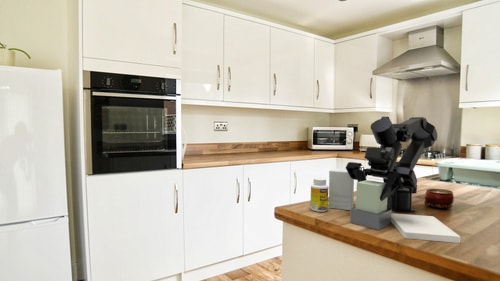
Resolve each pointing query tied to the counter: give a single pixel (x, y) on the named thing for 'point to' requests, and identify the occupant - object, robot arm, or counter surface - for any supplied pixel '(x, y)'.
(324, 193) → the supplement bottle
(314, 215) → the counter surface
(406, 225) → the cutting board
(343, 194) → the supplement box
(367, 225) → the dark grey block
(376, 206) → the pale green block
